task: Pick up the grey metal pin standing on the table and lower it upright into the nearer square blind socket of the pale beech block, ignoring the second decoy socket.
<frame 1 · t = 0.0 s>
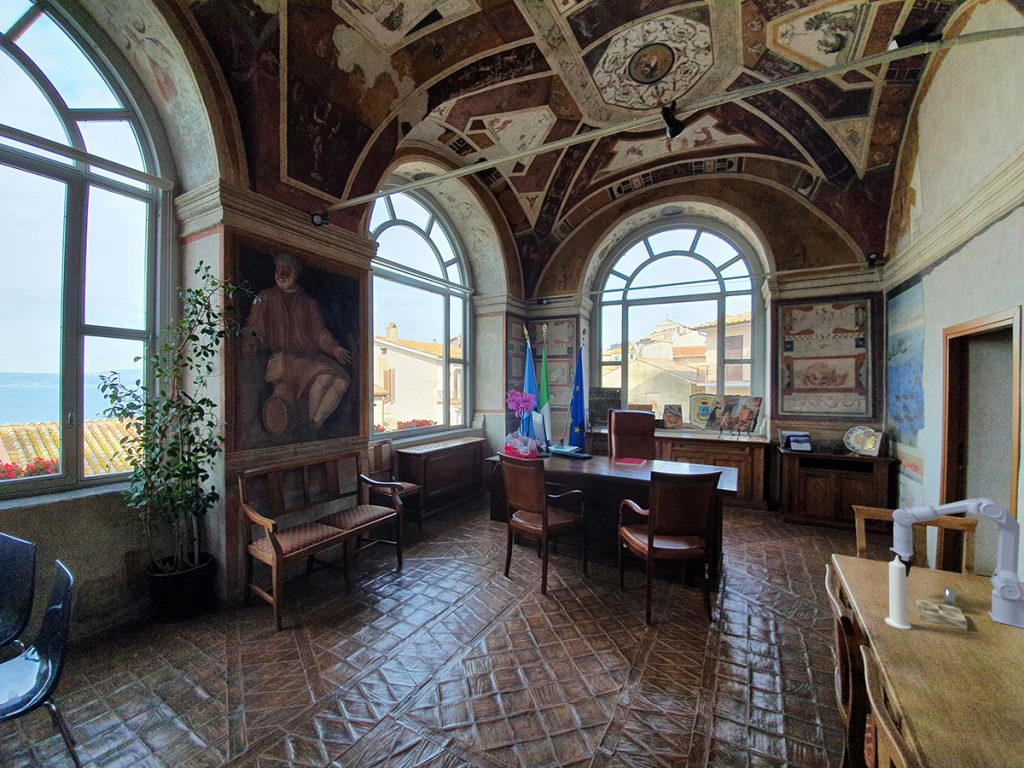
hand: (903, 572, 172), 10 cm above the table, fingers open, 7 cm apart
candle: (897, 625, 152), on the table
pin: (949, 610, 163), on the table
socket block: (940, 617, 157), on the table
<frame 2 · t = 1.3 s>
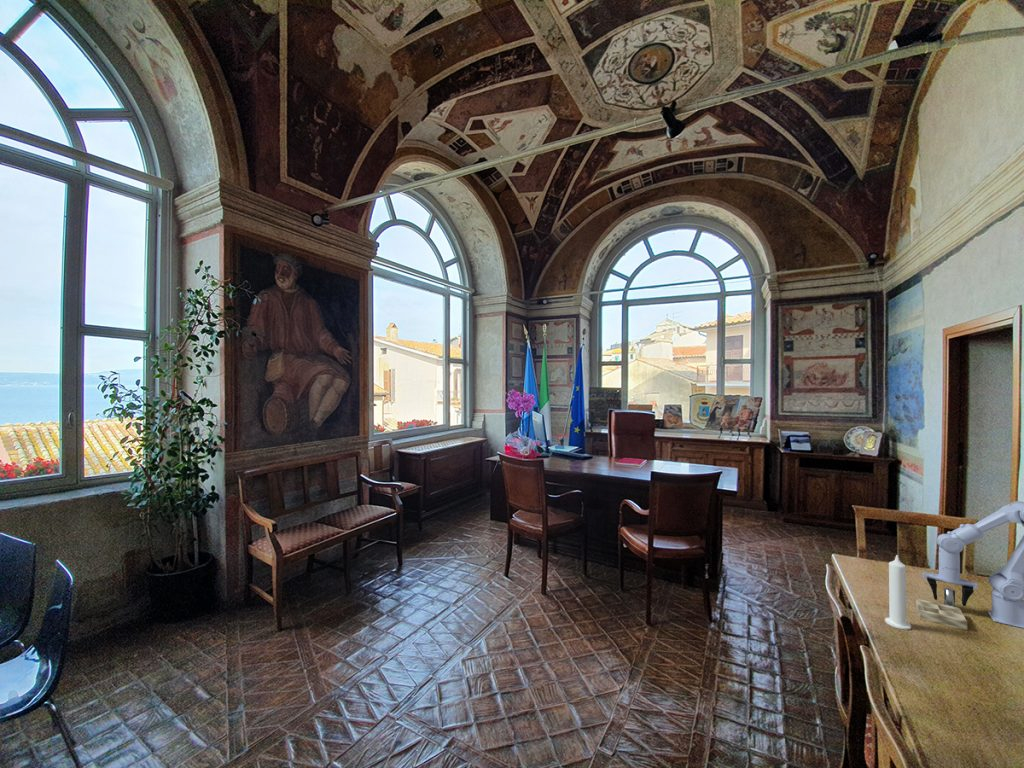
hand: (949, 601, 163), 3 cm above the table, fingers open, 7 cm apart
nothing on the table moved.
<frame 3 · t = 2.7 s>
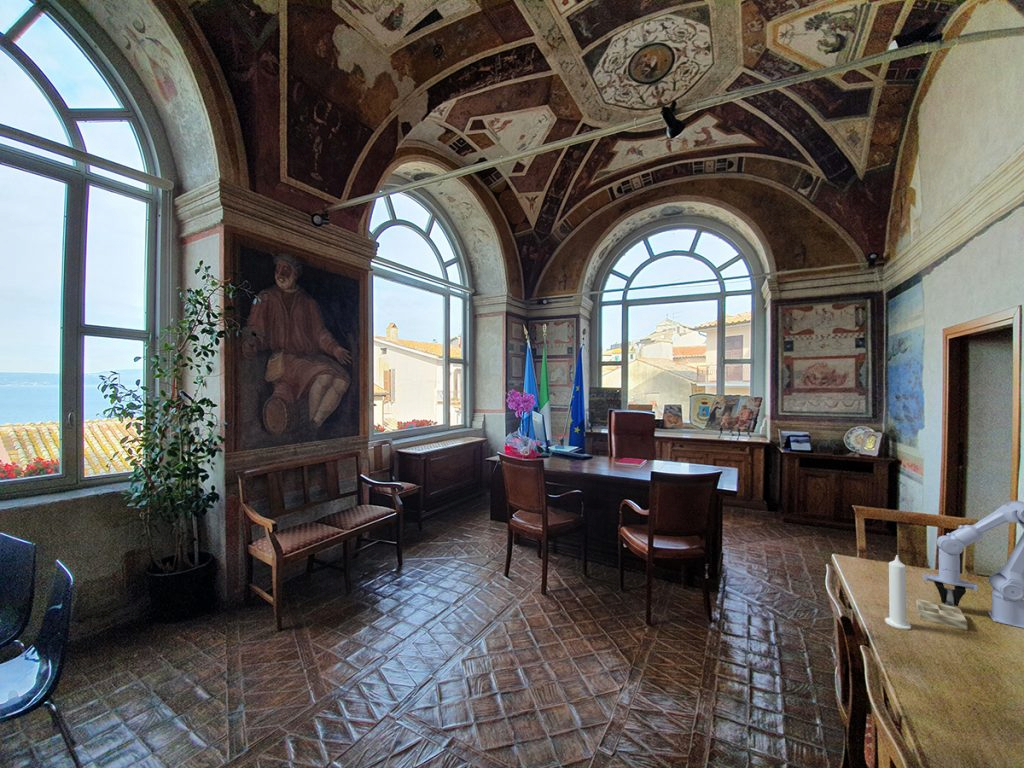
hand: (949, 603, 163), 2 cm above the table, fingers closed on pin, 3 cm apart
pin: (949, 609, 163), on the table, touching gripper
everything else where it was.
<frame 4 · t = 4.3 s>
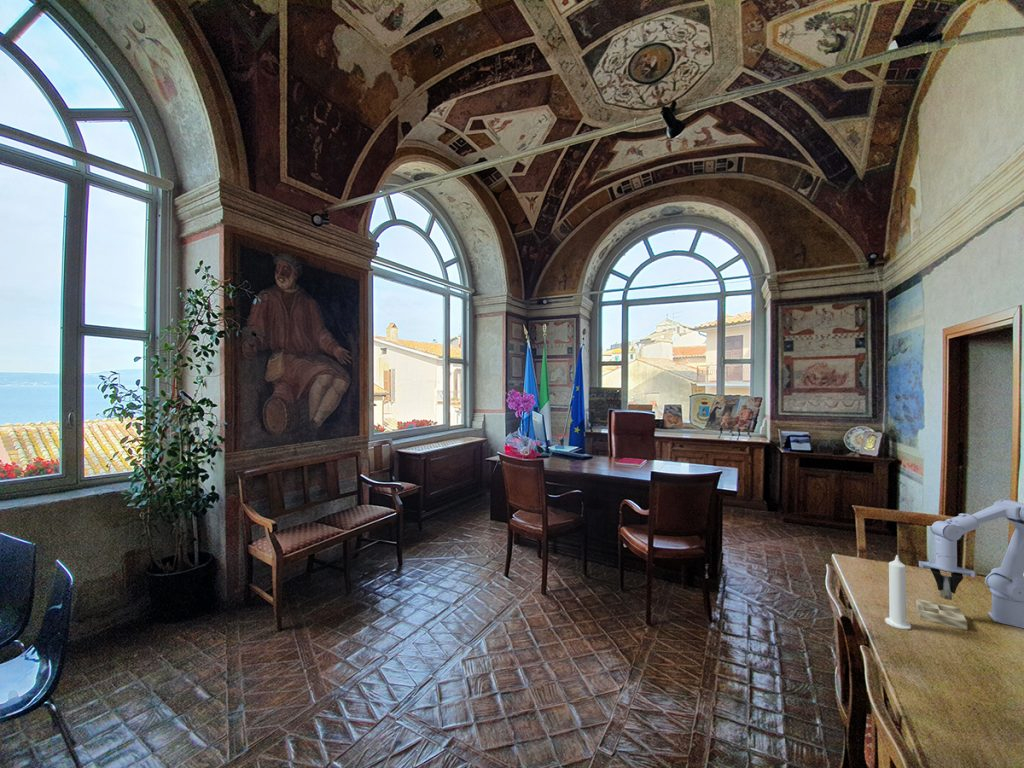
hand: (946, 591, 158), 10 cm above the table, fingers closed on pin, 3 cm apart
pin: (946, 597, 158), point 7 cm above the table, touching gripper
everything else where it was.
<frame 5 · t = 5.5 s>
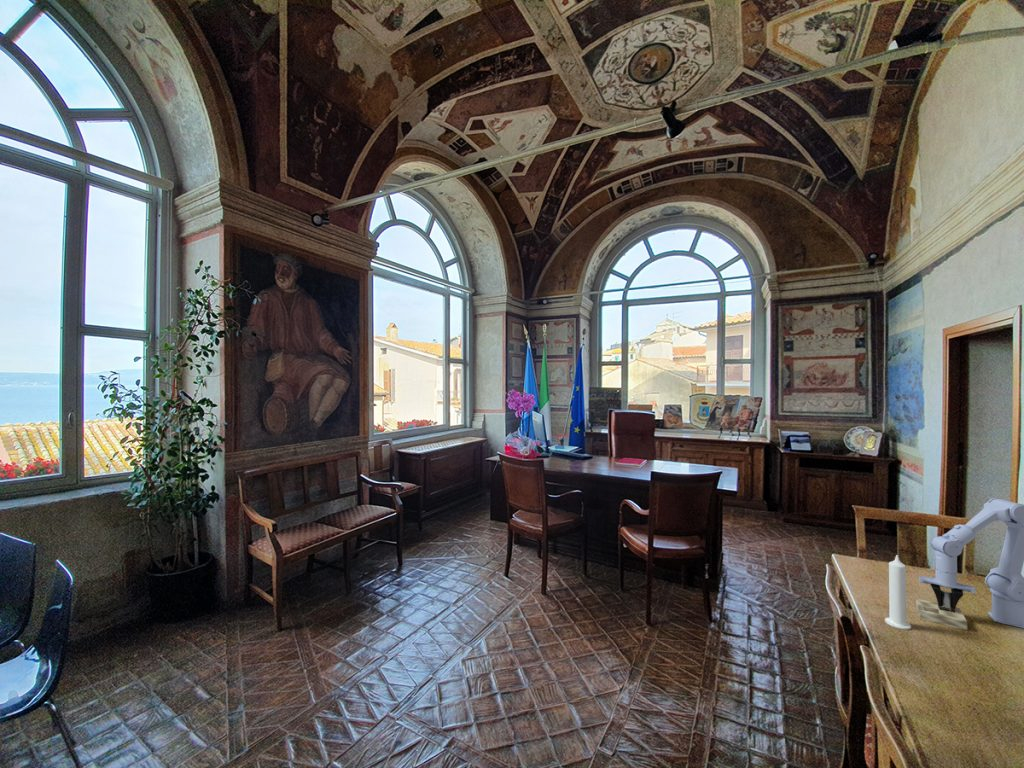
hand: (946, 606, 158), 4 cm above the table, fingers closed on pin, 3 cm apart
pin: (946, 613, 158), point 1 cm above the table, touching gripper
everything else where it was.
when the fingers open (3 cm above the table, at t = 6.4 s): pin stays where it is, resting on socket block.
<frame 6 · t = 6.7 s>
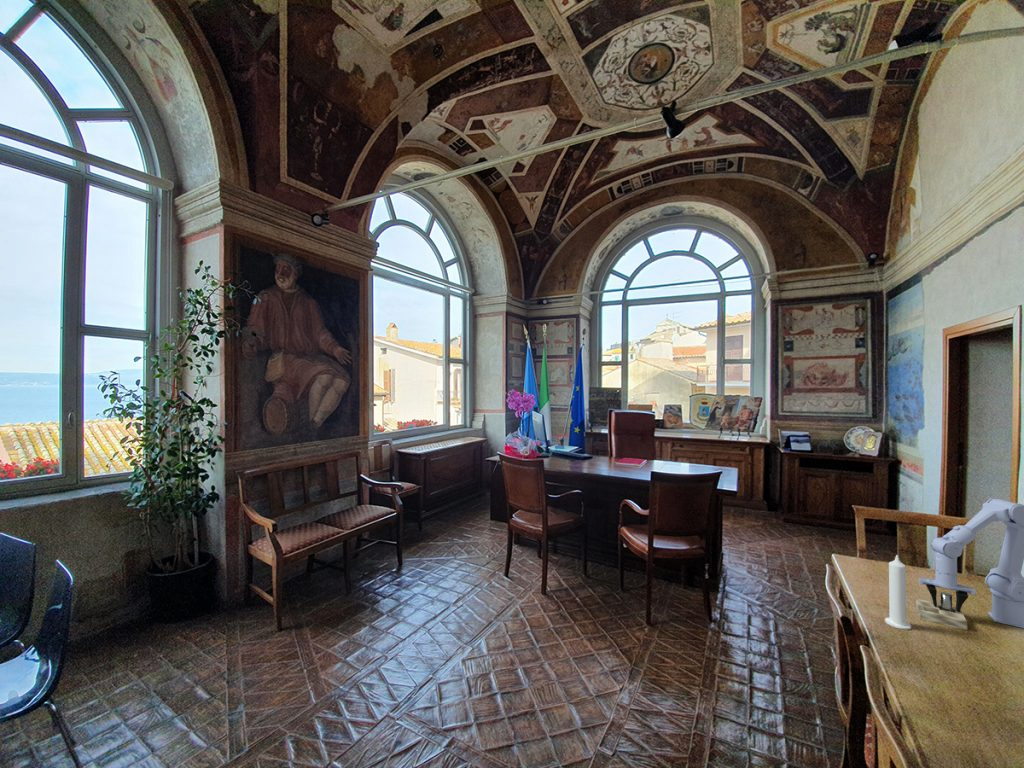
hand: (946, 608, 158), 3 cm above the table, fingers open, 5 cm apart
pin: (946, 615, 158), point 1 cm above the table, touching socket block
everything else where it was.
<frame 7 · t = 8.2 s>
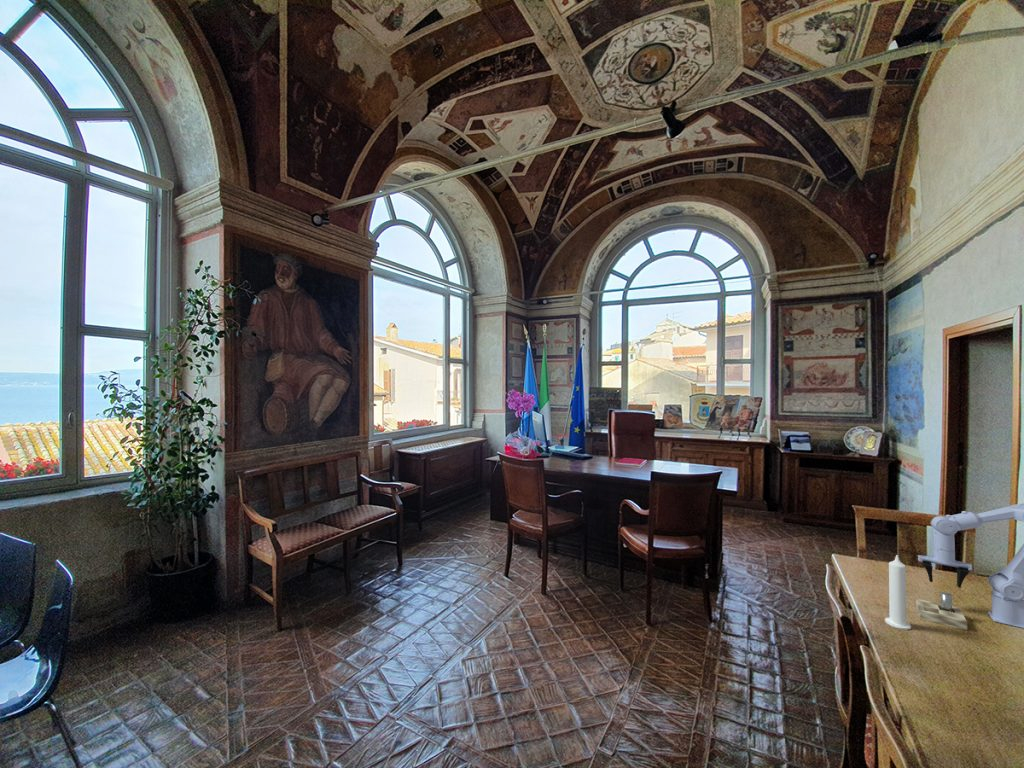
hand: (944, 583, 163), 10 cm above the table, fingers open, 7 cm apart
nothing on the table moved.
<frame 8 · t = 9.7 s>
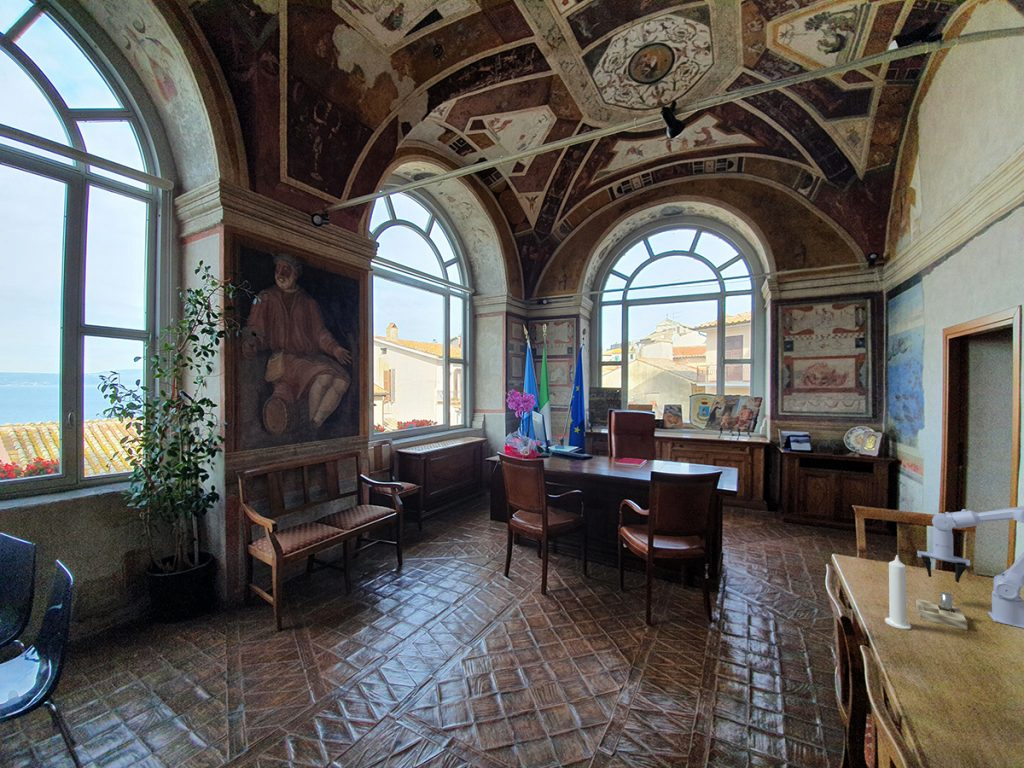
hand: (943, 578, 167), 10 cm above the table, fingers open, 7 cm apart
nothing on the table moved.
at the end: pin 0.1 cm from the target spot on the socket block, point 0.6 cm above the socket block's base; pin tilted 0°; the gripper is holding nothing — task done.
